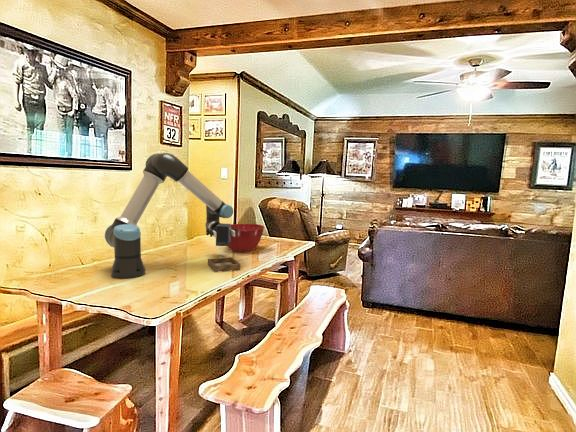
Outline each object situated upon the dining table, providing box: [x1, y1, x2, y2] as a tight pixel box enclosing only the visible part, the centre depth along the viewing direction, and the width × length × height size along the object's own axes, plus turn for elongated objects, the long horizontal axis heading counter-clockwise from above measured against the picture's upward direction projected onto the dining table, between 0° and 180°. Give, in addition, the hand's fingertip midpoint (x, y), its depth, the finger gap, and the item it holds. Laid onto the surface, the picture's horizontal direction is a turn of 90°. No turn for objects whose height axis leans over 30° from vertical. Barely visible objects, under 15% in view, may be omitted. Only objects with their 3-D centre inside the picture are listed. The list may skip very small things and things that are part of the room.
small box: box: [215, 222, 232, 247], centre depth 198 cm, size 11×6×10 cm, turn 0°
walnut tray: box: [207, 256, 241, 273], centre depth 200 cm, size 13×17×3 cm
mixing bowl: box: [226, 223, 265, 253], centre depth 245 cm, size 28×28×16 cm
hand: (225, 234), depth 194 cm, fingers closed on small box, 9 cm apart
